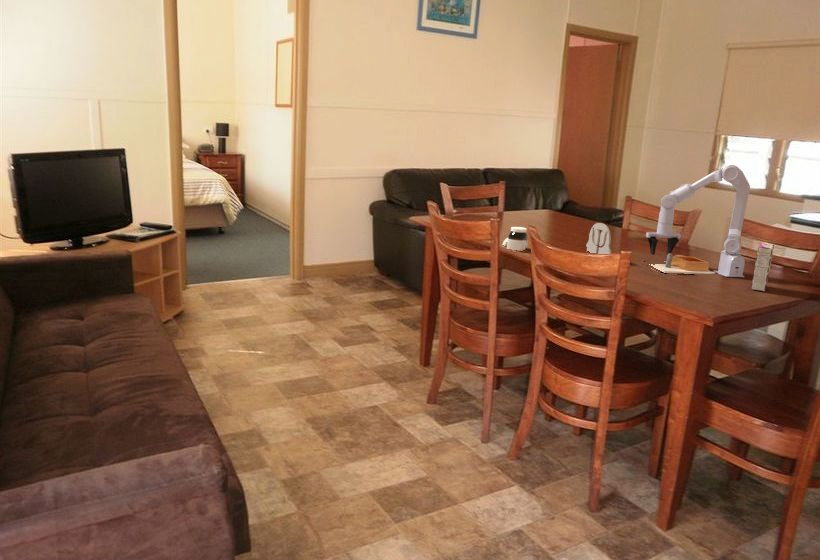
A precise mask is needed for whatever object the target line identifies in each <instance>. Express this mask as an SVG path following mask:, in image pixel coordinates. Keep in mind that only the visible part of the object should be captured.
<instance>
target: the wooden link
mask: <svg viewBox="0 0 820 560" xmlns="http://www.w3.org/2000/svg"><path fill="white" fill-rule="evenodd" d="M671 265H673V266H676V267H678V268H680V269H683V270H687V271H708V270H709V269H710V268H709V267H710V262H709V261H707V260H703V259H700V258H698V257H695V256H687V255H686V256H685V255H683V254H675V255H673V256H672V262H671Z"/></svg>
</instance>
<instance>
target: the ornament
mask: <svg viewBox="0 0 820 560" xmlns="http://www.w3.org/2000/svg"><path fill="white" fill-rule="evenodd" d="M600 231H601V232H600ZM611 241H612V236H611V230H610V228H609V226H607V225H606V224H605V223H603V222H596V223H594V224H593V225H592V227H591V228H590V230H589V233H588V241H587V242H586V252H587V251H589V252H590V253H597V255H598V254H610V255H612V250H611V243H612V242H611Z"/></svg>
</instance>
